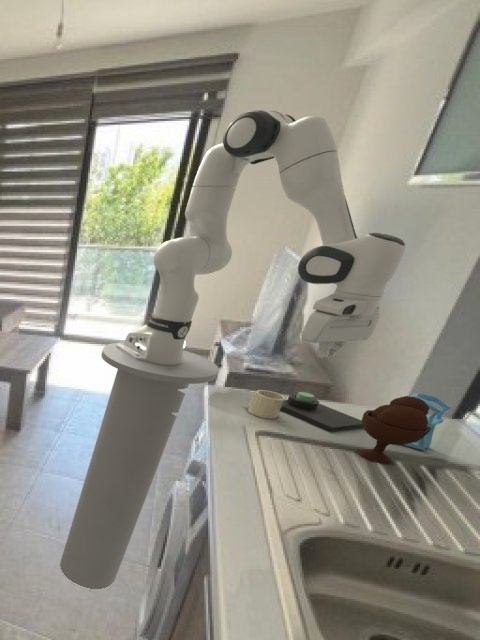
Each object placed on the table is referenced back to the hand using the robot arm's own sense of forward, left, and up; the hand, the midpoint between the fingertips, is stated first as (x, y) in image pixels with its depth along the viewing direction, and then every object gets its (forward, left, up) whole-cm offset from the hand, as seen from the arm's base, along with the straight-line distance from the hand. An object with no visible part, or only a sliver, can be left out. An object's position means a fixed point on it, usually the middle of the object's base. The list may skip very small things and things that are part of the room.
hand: (325, 357), depth 126 cm
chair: (+21, +7, -15) cm, 27 cm away
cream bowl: (0, -14, -15) cm, 21 cm away
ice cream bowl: (+25, -10, -15) cm, 31 cm away
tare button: (0, 0, -13) cm, 13 cm away
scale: (+5, 0, -15) cm, 16 cm away
